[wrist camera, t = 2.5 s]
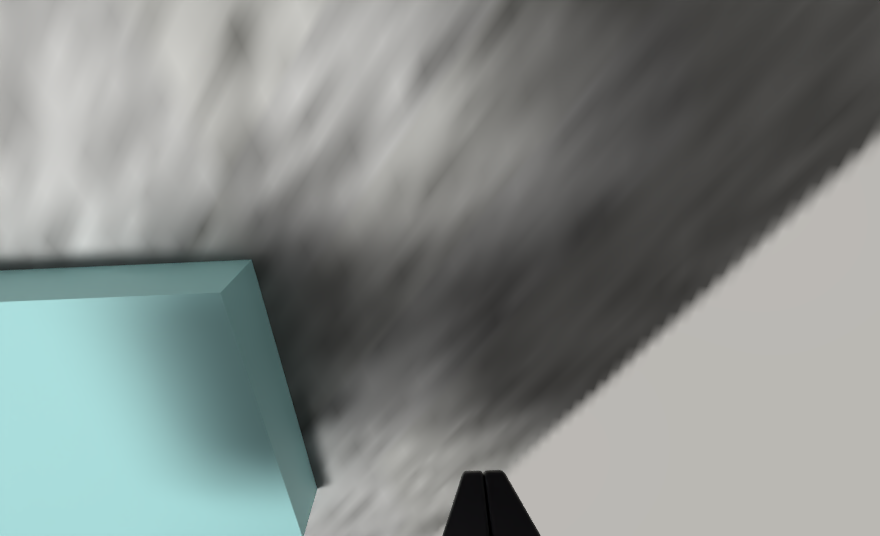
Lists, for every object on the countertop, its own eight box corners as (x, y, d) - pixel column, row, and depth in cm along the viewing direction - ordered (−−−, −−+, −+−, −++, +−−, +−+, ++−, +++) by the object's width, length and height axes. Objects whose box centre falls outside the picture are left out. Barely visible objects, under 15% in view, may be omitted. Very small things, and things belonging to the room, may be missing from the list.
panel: (320, 474, 13) (303, 538, 12) (-39, 485, 14) (-110, 549, 12) (260, 249, 10) (221, 292, 8) (-227, 271, 10) (-372, 317, 8)
